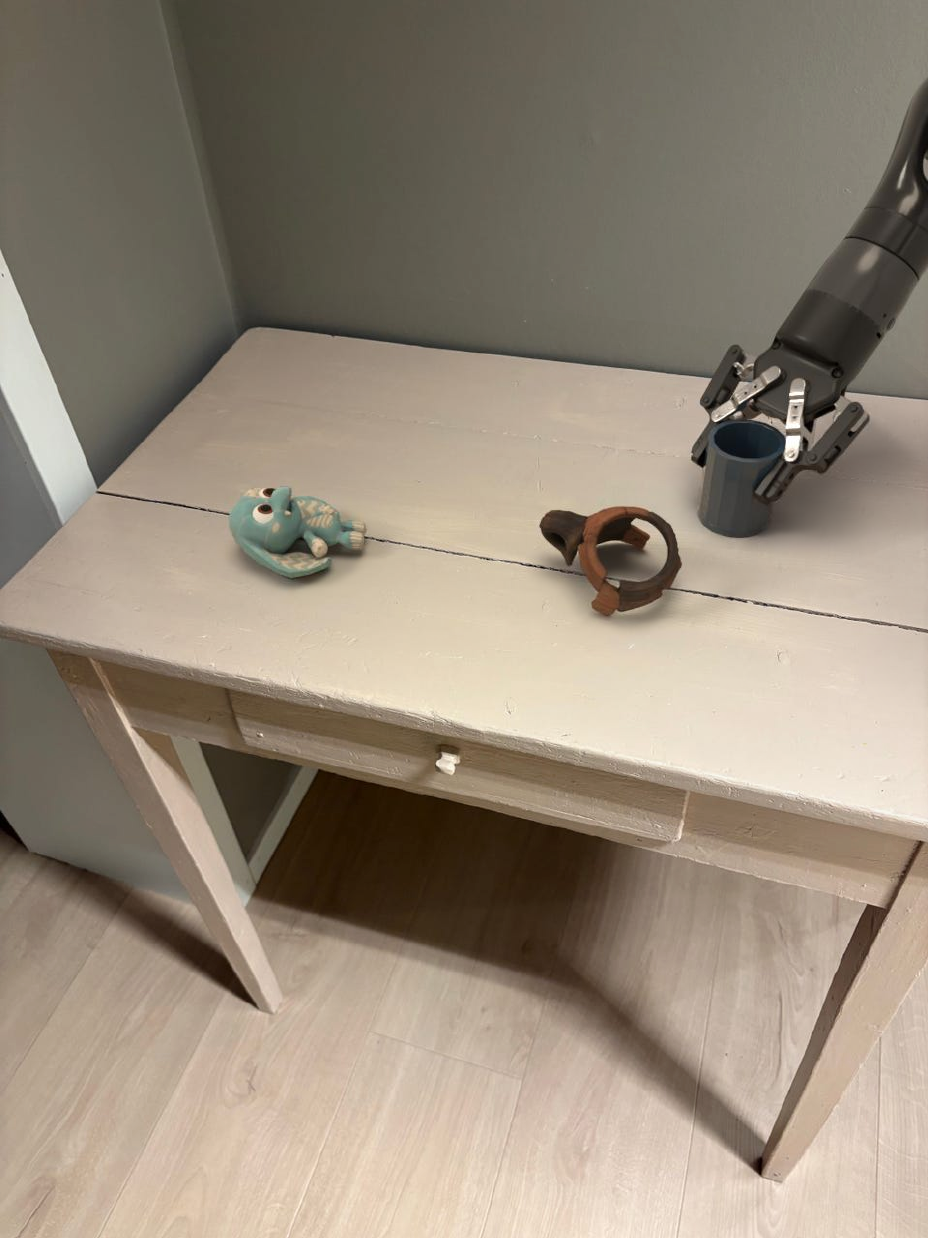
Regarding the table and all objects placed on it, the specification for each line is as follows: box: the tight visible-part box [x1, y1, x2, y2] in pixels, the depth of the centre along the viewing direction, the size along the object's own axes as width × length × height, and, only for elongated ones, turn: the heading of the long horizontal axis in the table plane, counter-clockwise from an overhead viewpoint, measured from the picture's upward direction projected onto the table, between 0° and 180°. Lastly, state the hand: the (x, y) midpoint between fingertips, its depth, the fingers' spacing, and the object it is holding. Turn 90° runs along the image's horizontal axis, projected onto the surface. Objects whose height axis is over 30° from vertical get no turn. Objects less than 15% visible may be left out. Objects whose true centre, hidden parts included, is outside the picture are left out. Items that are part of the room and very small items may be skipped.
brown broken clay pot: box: [539, 505, 683, 616], centre depth 79 cm, size 12×10×8 cm
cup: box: [697, 419, 786, 538], centre depth 84 cm, size 6×6×8 cm
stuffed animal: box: [228, 485, 367, 579], centre depth 84 cm, size 11×7×12 cm
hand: (728, 482), depth 83 cm, fingers closed on cup, 6 cm apart
